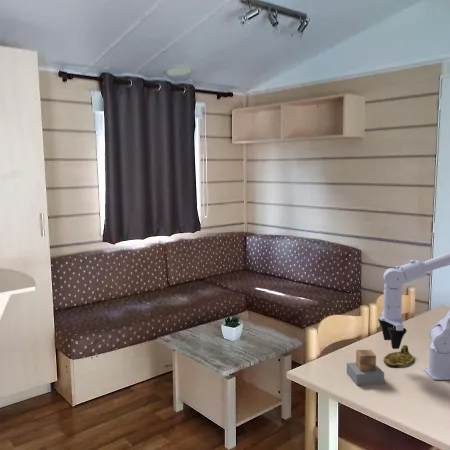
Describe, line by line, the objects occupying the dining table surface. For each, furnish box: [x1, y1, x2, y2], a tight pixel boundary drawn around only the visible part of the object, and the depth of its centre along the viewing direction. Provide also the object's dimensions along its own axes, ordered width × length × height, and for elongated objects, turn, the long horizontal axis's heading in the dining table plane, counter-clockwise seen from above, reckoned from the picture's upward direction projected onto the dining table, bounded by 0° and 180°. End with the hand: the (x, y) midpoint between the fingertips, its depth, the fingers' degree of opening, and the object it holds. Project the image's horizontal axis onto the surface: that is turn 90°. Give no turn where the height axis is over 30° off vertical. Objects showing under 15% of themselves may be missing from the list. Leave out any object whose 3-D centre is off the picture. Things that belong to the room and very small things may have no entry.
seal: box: [383, 344, 415, 369], centre depth 168 cm, size 9×5×15 cm
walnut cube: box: [355, 349, 377, 371], centre depth 154 cm, size 5×5×5 cm
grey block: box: [346, 361, 385, 387], centre depth 155 cm, size 9×9×4 cm
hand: (391, 344), depth 159 cm, fingers open, 7 cm apart
